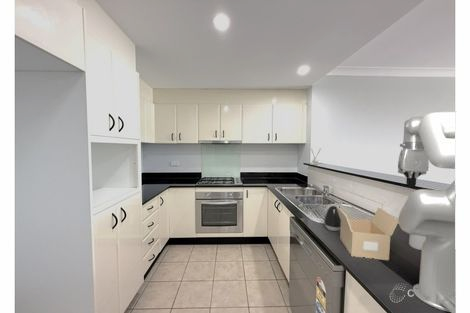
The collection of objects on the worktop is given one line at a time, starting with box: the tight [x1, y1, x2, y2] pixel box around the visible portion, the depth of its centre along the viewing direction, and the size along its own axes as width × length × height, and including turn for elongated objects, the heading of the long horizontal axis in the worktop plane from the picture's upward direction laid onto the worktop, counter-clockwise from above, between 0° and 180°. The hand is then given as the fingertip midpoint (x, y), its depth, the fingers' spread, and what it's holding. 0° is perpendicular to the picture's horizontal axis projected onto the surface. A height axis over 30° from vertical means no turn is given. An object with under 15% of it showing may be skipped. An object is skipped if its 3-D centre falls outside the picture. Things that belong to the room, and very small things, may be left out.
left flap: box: [335, 204, 353, 232], centre depth 111 cm, size 20×8×1 cm
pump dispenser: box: [323, 205, 341, 232], centre depth 132 cm, size 10×10×15 cm
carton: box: [339, 218, 391, 261], centre depth 109 cm, size 20×16×12 cm
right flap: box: [371, 207, 399, 237], centre depth 107 cm, size 20×8×1 cm
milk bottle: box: [408, 234, 428, 251], centre depth 111 cm, size 8×8×20 cm
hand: (410, 186), depth 96 cm, fingers closed
